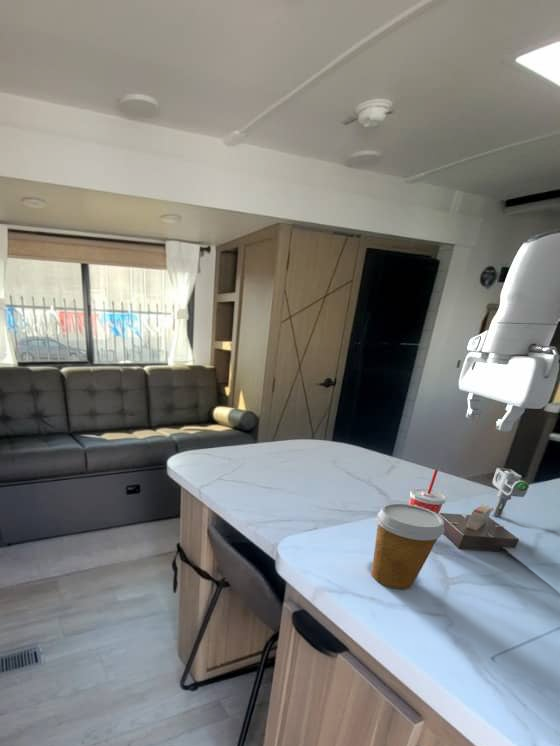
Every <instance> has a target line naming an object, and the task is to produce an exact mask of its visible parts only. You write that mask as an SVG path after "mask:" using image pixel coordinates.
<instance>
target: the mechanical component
mask: <svg viewBox="0 0 560 746" xmlns="http://www.w3.org/2000/svg"><path fill="white" fill-rule="evenodd" d="M521 479H522V475H521V474H519V473H517V472H516V471H515V470H513V469H512V468H503V467H496V469H495V472H494V476H493V478H492V485H493V486H494V487H495V488H497V489H498V490H499V491H498V493H497V494H496V497H497V501H496V504H495V506H494V509H493V510H492V512H491V513H492V514H491V516H492V517H494V518H495V517H497V516H498V517H499V518H501V516H502V514H503V511H504V509H505V507H506V504H507V502H508V501H510V500H512V497H517V498H524V497H525V496H526V494H527V492H528V490H529V488H530V485H529V483H528V482H527V481H525V480H521Z"/></svg>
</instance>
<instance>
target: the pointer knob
mask: <svg viewBox="0 0 560 746" xmlns="http://www.w3.org/2000/svg"><path fill="white" fill-rule="evenodd" d="M493 508H494V507H493V506H491V505H488V504H485V503H482V504H481V505H478V507H476V508H475V509H473V510H472V511H471V513H470V515H471V516H470V519H469V521H468V524H467V526H466V527H467V528H470V529H473V530H476V531H477V530H478V529H479V528H481V527H482V526H483V525H484V524H485V523H487V521H488V518H489V517H490V516H491V513H492V512H493Z"/></svg>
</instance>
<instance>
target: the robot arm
mask: <svg viewBox="0 0 560 746" xmlns="http://www.w3.org/2000/svg"><path fill="white" fill-rule="evenodd" d="M559 322H560V228H558V229H554V230H548V231H545V232H542V233H541V232H540V233H537V234H534V235H532V236H530V237H529V238H527V239H526V240H525V241H524V242H523V243H522V245H521V246H520V248H519V249H518V251H517V252H516V255H515V256H514V258H513V260H512V263H511V264H510V267H509V269H508V272H507V274H506V277H505V280H504V283H503V286H502V289H501V291H500V296H499V307H498V309H497V311H496V313H495V314H494V316H493V317H492V319H491V322H490V324H489V327H488V329H487V330H485V331H483V332H482V333H480V334H478V335H476V336H473V337H472V338H470V340H469V341H468V344H467V350H468V351H470V352H468V353H467V355H466V357H465V359H464V362H463V364H462V367H461V371H460V375H459V379H458V388H459V390H460V391H463V392H466V393H468V396H467V411H466V414H465V417H466V418H468V419H470V420H479V419H480V417H481V414H482V412H483V410H482V409H481V402H482V401H483V400H484V398H486V399H490V400H494V401H497V402H501V403H503V404H506V407H505V411H506V413H505V414H504V415H503V417H502V418H498V419H497V421H496V424H495V426H494V428H495V429H496V430H497V431H500V432H510V431H511V430H512V429H513V426H514V423H515V422H516V421H517V420H518V419H519V418H520V417H521V416H522V415H523V414H524V413H525V411H526V409H533V410H537V409H538V410H540V409H543V408H544V407H545V406H547V404H548V403H549V402H550V400H551V398H552V395H553V391H554V388H555V385H556V382H557V379H558V375H559V371H560V363H559V361H560V354H559V352H558V350H557V347H556V346H554V345H550V344H551V342H552V340H553V337H554V335H555V332H556V329H557V327H558V324H559Z"/></svg>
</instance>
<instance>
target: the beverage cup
mask: <svg viewBox="0 0 560 746" xmlns="http://www.w3.org/2000/svg"><path fill="white" fill-rule="evenodd" d="M438 471H439V470H438V469H434V472H433V475H432V478H431V481H430V484H429V487H428V488H413V489H411V490H410V493H409V496H410V498H409V503H408V504H410V505H415V506H419V507H422V508H425V509H428V510H431V511H433V512H435V513H436V514H439V513H440V511H441V509H442V507H443V504H445V503H446V501H447V499H448V498H447V496H446V495H445V494H443V493H441V492H439V491H436V490H433V487H434V484H435V481H436V478H437V474H438Z"/></svg>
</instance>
